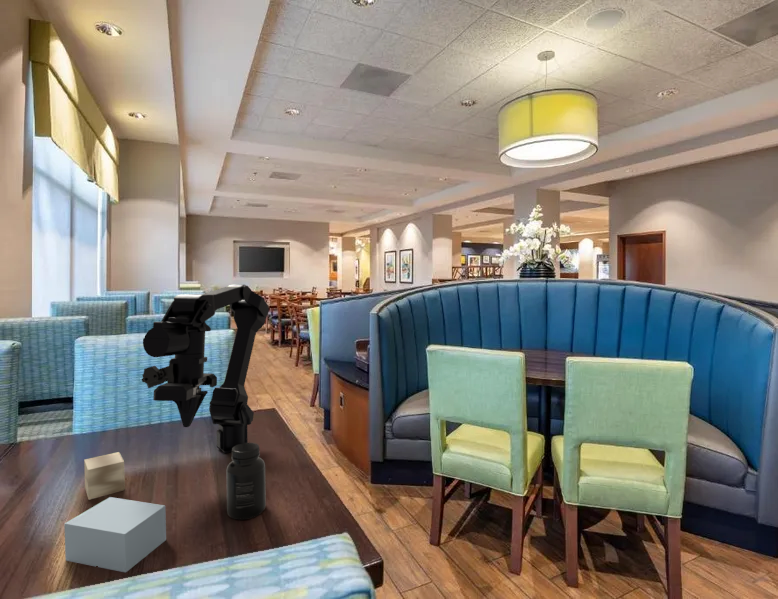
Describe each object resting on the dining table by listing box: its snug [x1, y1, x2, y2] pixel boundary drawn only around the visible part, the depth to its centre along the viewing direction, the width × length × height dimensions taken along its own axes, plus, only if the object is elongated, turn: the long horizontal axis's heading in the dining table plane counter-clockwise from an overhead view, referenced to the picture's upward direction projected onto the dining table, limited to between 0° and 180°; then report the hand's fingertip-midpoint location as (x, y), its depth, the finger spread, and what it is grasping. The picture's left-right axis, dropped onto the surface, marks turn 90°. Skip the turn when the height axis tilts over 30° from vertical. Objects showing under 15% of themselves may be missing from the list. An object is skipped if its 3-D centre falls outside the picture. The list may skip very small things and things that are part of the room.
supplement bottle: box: [225, 442, 267, 521], centre depth 79 cm, size 7×7×12 cm
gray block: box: [63, 496, 167, 573], centre depth 67 cm, size 6×11×8 cm
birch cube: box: [83, 451, 126, 501], centre depth 86 cm, size 6×6×6 cm
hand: (186, 426), depth 90 cm, fingers closed
